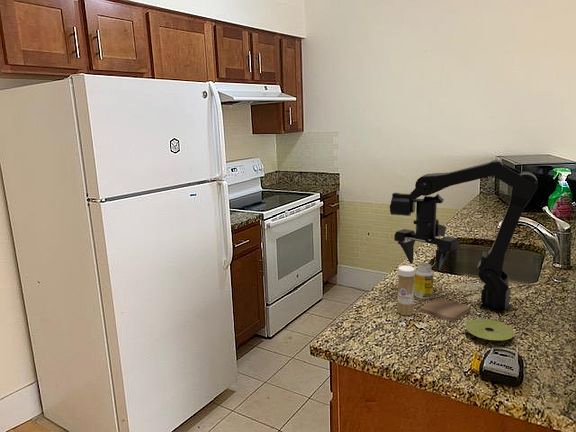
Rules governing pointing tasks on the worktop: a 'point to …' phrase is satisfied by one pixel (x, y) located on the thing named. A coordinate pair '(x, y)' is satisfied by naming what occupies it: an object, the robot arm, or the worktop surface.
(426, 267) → the supplement bottle
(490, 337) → the yellow-green flat disc
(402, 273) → the sprinkles bottle
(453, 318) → the walnut board
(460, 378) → the worktop surface
